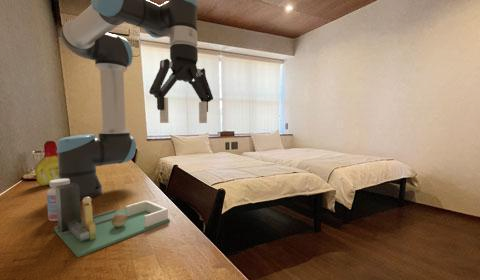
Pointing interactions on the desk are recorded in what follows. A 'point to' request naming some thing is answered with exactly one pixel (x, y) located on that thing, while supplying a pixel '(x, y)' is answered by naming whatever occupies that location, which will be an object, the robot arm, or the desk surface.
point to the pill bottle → (54, 198)
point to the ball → (119, 220)
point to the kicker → (74, 212)
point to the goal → (156, 211)
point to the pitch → (107, 232)
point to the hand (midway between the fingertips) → (185, 123)
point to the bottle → (48, 165)
